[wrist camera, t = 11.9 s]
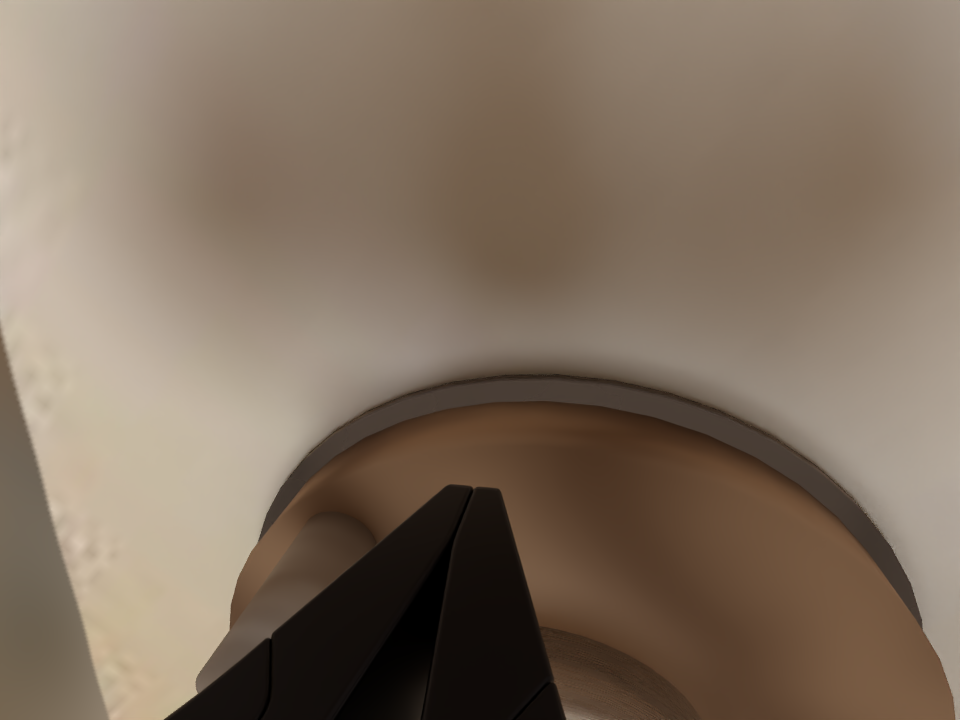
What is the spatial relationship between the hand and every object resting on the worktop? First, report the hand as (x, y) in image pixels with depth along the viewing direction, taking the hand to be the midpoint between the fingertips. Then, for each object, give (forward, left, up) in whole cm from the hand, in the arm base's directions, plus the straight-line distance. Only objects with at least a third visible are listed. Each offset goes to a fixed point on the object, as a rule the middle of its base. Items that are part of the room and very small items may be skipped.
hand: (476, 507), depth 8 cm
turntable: (-1, +11, -5) cm, 12 cm away
